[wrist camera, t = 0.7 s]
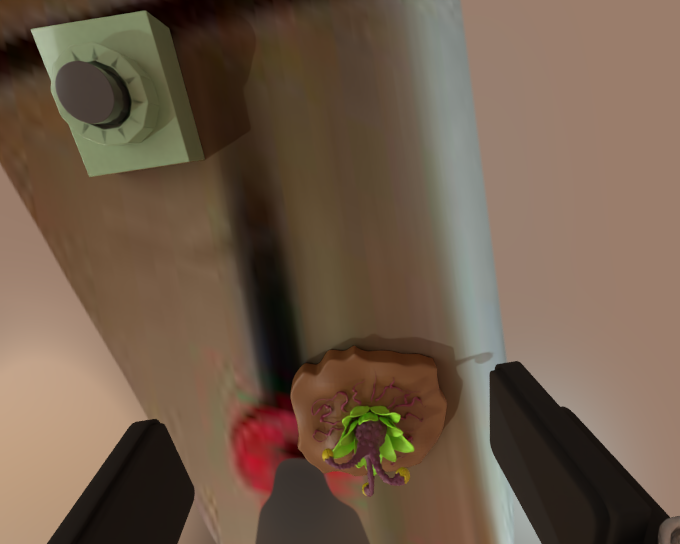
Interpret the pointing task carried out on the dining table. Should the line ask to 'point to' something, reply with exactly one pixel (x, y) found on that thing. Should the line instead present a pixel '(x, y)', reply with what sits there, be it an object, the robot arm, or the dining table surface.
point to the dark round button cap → (92, 93)
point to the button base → (142, 86)
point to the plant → (368, 412)
